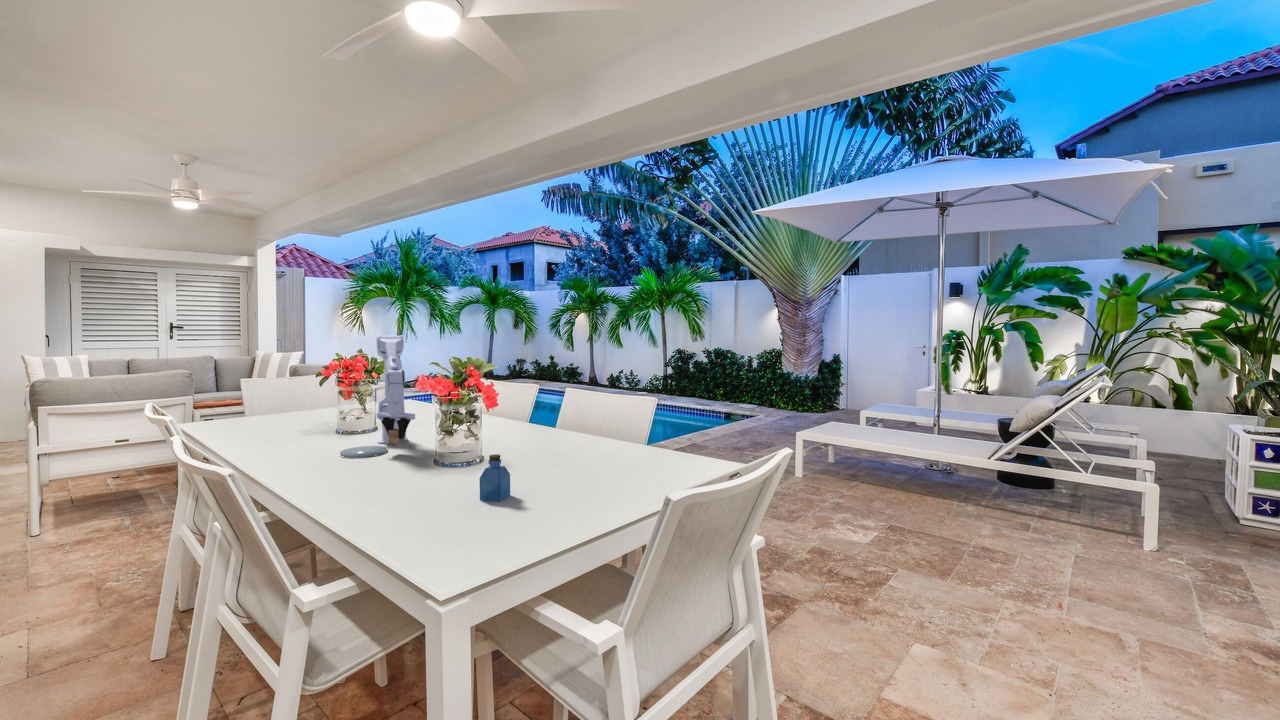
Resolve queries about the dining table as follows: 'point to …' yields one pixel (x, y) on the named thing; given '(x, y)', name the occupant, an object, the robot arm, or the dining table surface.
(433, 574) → the dining table surface
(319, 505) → the dining table surface
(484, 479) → the perfume bottle
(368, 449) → the slate dish
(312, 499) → the dining table surface
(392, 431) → the walnut block
